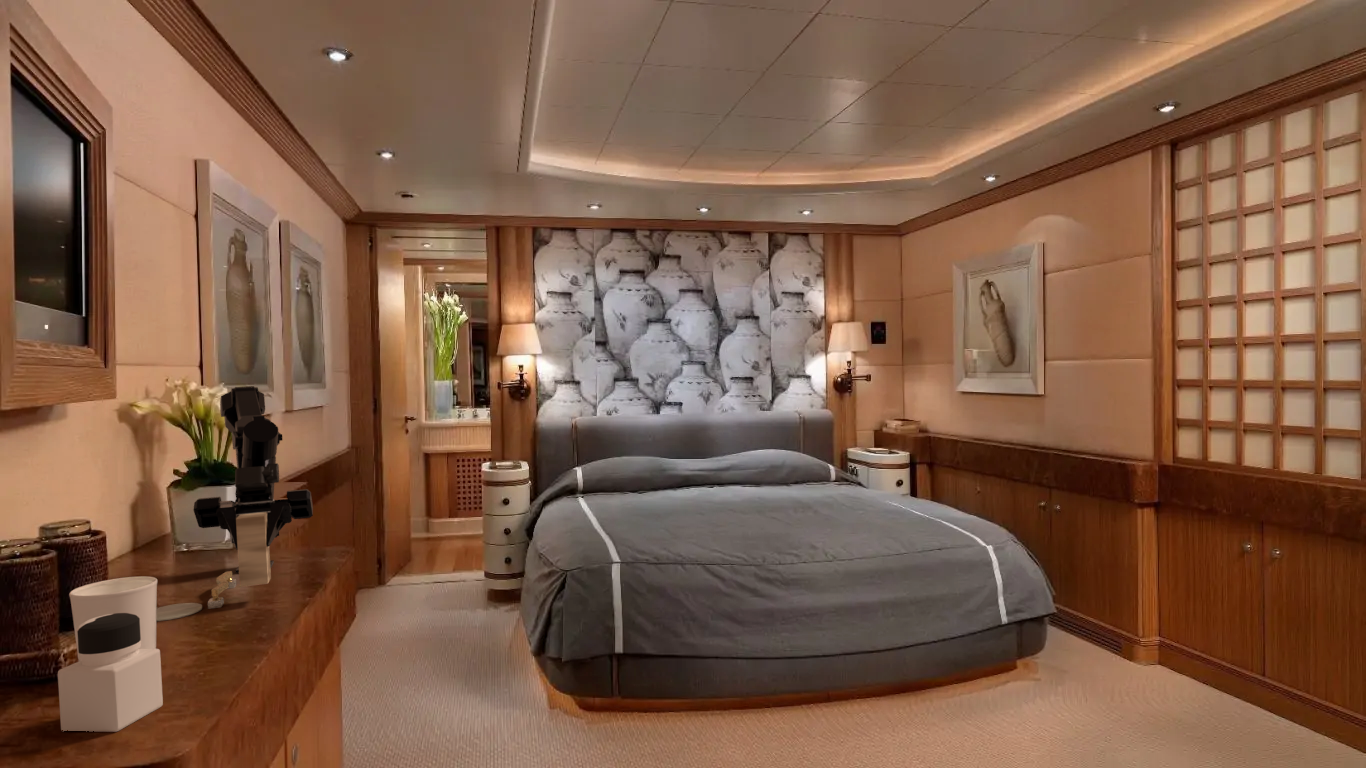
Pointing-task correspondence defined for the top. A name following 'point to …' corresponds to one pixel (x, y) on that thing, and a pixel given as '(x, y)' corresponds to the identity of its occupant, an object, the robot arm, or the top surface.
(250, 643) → the top surface
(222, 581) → the zigzag wooden handle
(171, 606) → the coaster
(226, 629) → the top surface
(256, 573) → the maple peg
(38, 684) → the top surface
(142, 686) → the medicine bottle
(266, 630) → the top surface
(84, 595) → the candle holder
